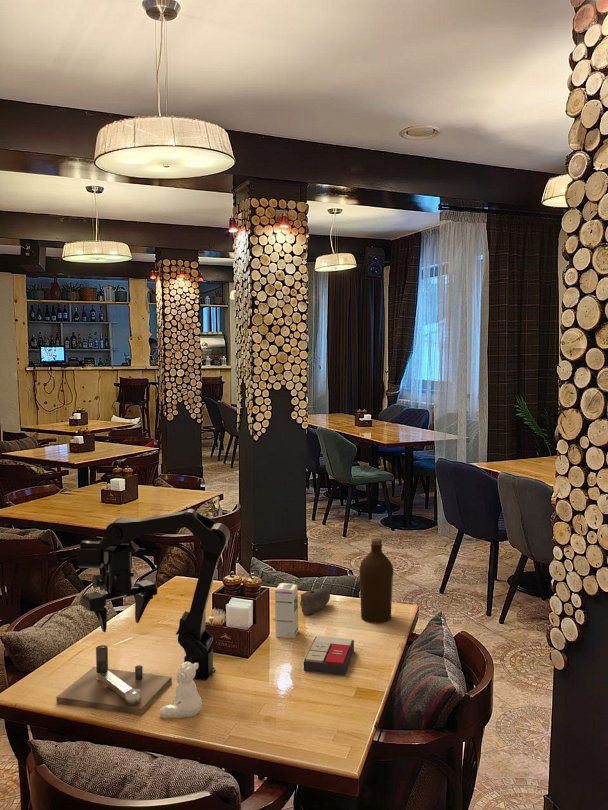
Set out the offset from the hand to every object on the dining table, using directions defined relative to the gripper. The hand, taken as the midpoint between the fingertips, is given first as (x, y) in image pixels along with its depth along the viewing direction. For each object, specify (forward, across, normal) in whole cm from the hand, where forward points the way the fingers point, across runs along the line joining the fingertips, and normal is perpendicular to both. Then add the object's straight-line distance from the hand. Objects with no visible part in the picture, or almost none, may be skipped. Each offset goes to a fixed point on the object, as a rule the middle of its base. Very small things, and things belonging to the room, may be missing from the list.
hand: (120, 627), depth 173 cm
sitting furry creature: (+12, -2, +28) cm, 30 cm away
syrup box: (+12, -48, +10) cm, 50 cm away
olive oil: (+12, -77, +19) cm, 80 cm away
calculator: (+13, -45, +31) cm, 56 cm away
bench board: (+12, +6, +9) cm, 16 cm away
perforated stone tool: (+12, -67, +2) cm, 69 cm away
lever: (+10, +7, +11) cm, 16 cm away
